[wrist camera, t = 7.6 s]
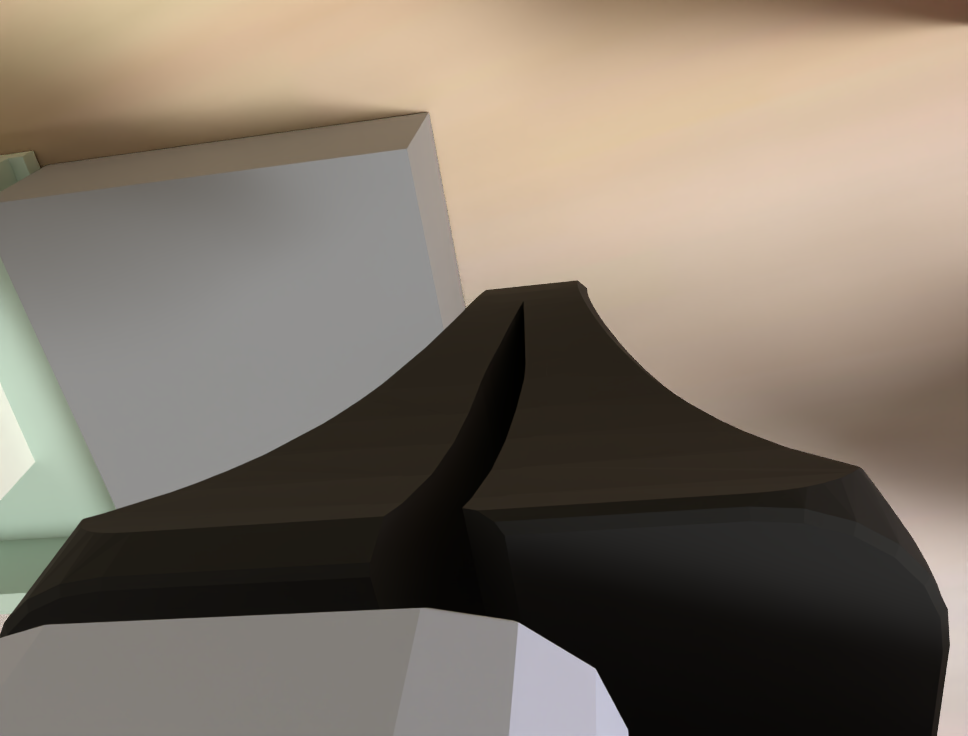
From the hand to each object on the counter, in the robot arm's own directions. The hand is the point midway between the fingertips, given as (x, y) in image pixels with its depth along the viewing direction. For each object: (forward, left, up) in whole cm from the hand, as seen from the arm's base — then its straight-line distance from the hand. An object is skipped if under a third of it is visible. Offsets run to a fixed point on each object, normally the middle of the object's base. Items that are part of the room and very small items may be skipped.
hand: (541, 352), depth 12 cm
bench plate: (-5, +8, -10) cm, 14 cm away
